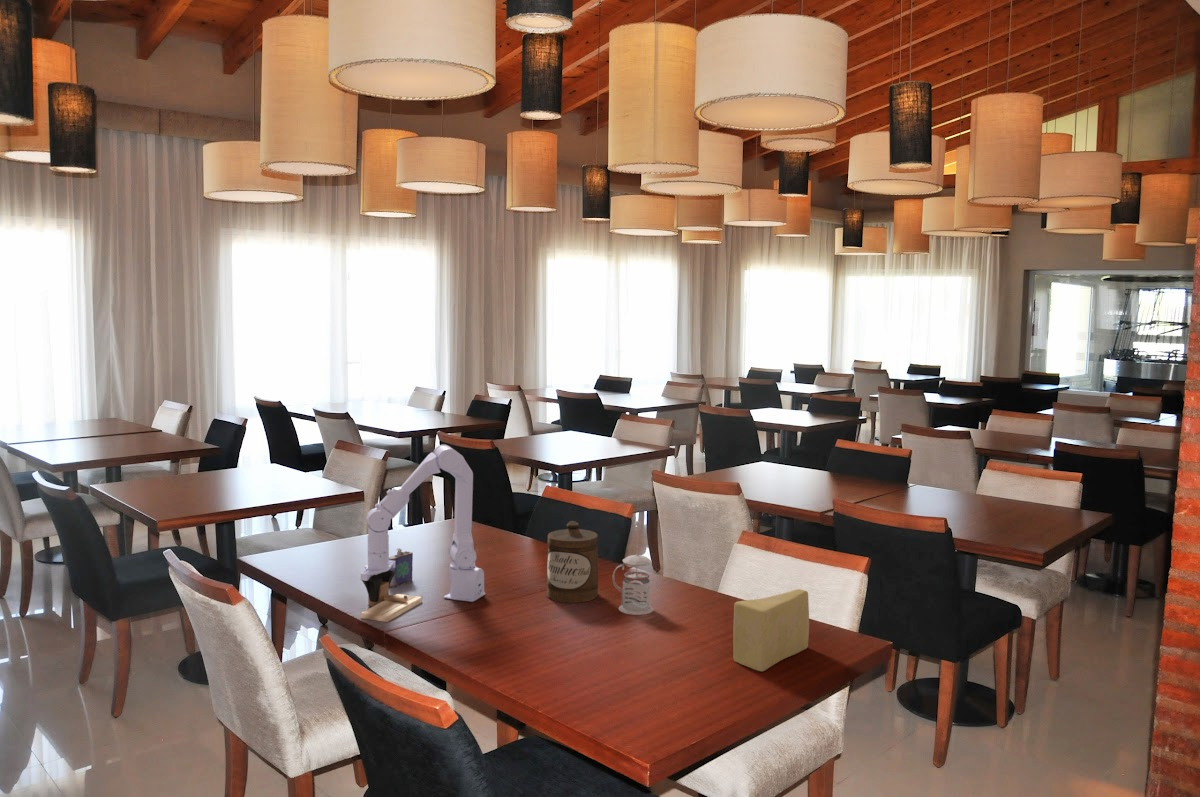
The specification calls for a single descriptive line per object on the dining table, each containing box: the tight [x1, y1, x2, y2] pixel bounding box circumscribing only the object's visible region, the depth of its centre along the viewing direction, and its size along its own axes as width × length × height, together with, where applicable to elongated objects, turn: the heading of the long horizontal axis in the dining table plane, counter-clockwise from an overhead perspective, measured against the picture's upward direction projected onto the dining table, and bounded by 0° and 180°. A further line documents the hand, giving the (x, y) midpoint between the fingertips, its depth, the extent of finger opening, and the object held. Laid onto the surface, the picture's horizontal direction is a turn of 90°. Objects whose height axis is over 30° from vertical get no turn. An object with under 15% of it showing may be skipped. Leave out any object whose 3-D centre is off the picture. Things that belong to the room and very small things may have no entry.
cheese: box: [732, 588, 810, 672], centre depth 224 cm, size 22×10×15 cm, turn 129°
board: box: [360, 593, 423, 623], centre depth 254 cm, size 8×18×2 cm, turn 161°
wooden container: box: [546, 520, 599, 604], centre depth 269 cm, size 15×15×22 cm
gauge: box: [367, 581, 408, 607], centre depth 258 cm, size 11×4×7 cm, turn 71°
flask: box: [389, 548, 414, 589], centre depth 278 cm, size 9×3×11 cm, turn 146°
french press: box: [612, 520, 654, 616], centre depth 258 cm, size 10×12×25 cm
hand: (378, 599), depth 259 cm, fingers closed on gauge, 4 cm apart
